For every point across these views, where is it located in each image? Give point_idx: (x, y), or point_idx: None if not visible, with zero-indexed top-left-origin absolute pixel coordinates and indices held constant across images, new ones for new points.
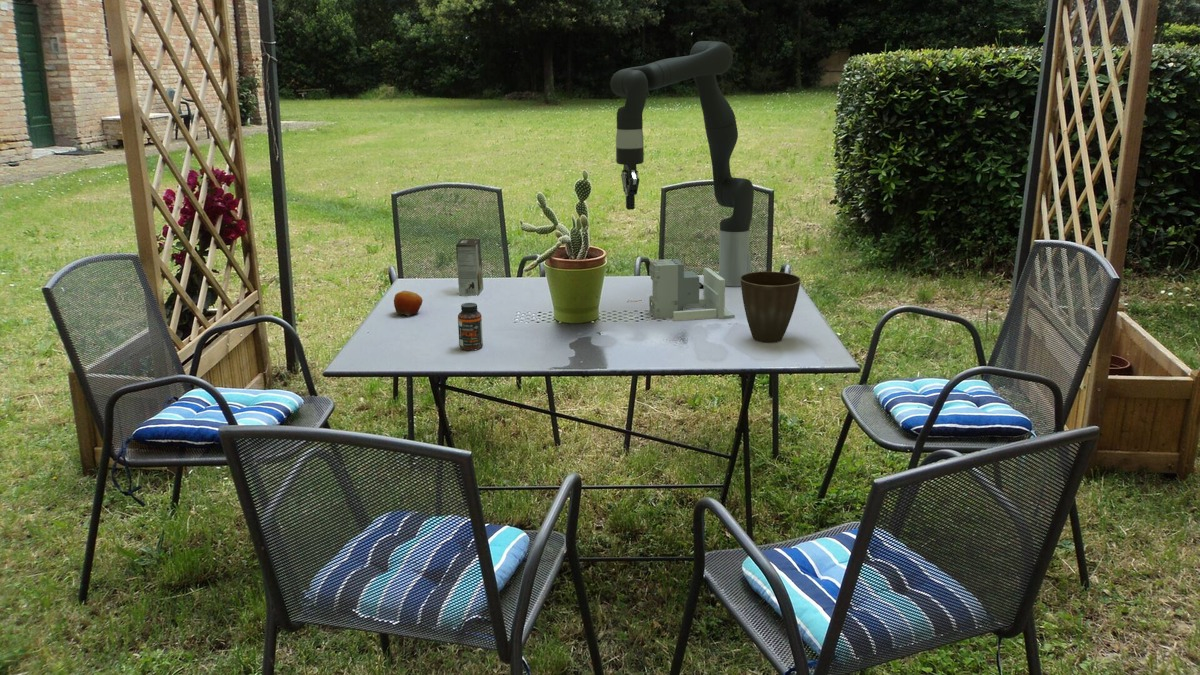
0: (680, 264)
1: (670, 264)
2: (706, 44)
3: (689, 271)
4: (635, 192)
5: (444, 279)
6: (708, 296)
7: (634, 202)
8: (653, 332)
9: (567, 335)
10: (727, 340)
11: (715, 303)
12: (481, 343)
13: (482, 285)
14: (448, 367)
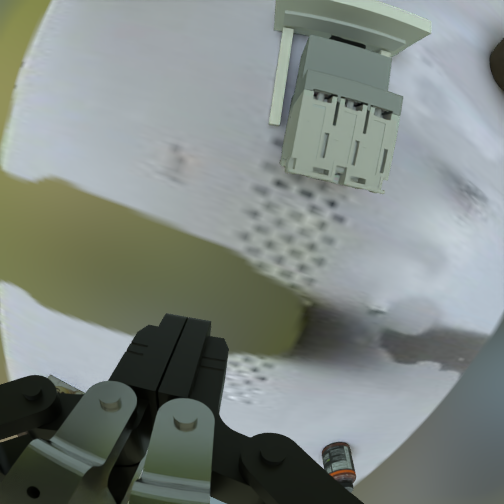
0: (399, 106)
1: (385, 136)
2: None
3: (313, 45)
4: (303, 469)
5: None
6: (330, 30)
7: (202, 354)
8: (419, 221)
9: (357, 357)
10: (497, 129)
11: (386, 46)
12: (347, 447)
13: (53, 381)
14: (383, 460)
